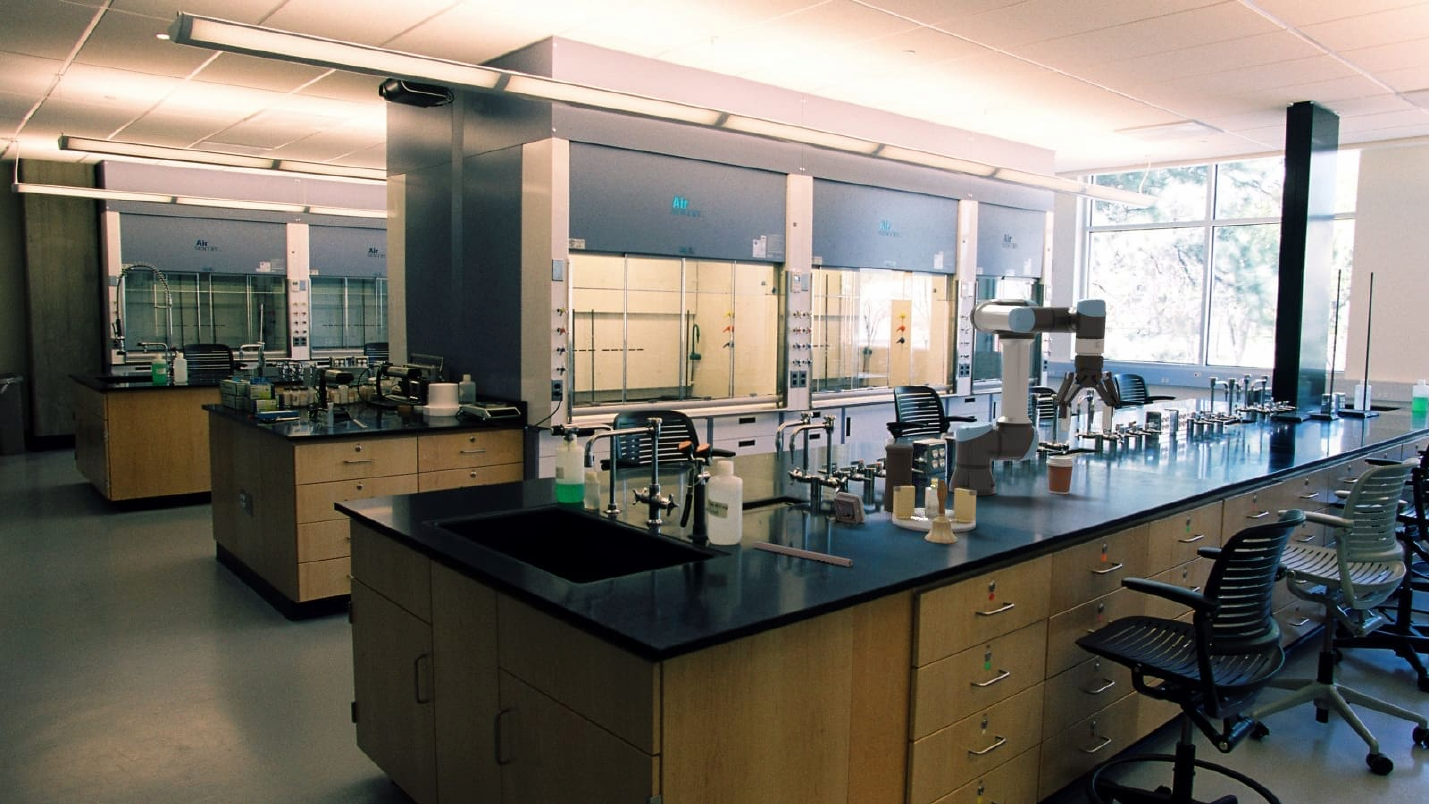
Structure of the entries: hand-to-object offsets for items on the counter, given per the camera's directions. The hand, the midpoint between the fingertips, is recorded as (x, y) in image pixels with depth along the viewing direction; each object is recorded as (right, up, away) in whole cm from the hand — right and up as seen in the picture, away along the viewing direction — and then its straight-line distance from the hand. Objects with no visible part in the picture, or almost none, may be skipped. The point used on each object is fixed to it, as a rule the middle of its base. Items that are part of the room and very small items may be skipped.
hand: (1085, 429), depth 255 cm
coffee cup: (+11, -23, +49) cm, 56 cm away
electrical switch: (-67, -27, +2) cm, 72 cm away
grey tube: (-84, -30, -36) cm, 96 cm away
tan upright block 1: (-52, -25, -2) cm, 58 cm away
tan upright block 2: (-36, -25, -6) cm, 44 cm away
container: (-49, -25, +19) cm, 59 cm away
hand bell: (-46, -29, -18) cm, 57 cm away
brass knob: (-41, -24, +10) cm, 48 cm away
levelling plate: (-43, -27, +1) cm, 51 cm away
